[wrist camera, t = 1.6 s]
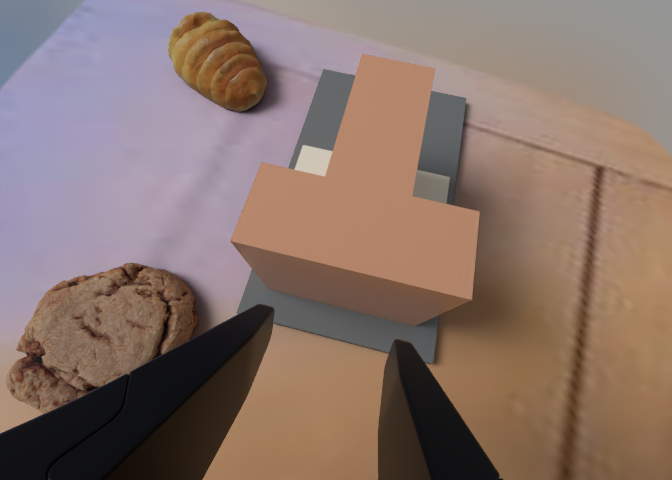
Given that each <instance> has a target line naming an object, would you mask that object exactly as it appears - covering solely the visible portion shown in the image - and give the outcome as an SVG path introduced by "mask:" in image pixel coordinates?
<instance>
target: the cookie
mask: <svg viewBox="0 0 672 480" xmlns="http://www.w3.org/2000/svg"><path fill="white" fill-rule="evenodd" d="M195 302H196V301H195V297H194V295H193V294H192V291H191V289H190V288H189V287H188V286H187V285H186V284H185V283H184V282H183V281H182V280H181V279H180V278H179V277H178V276H177V275H174V274H173V273H171V272H168V271H166V270H161V269H153V268H151V267H148V266H144V265H139V264H136V263H127V264H124V265H123V266H121V267H118V268H114V269H111V270H109V271H107V272H100V273H98V274H95V275H92V276H85V275H84V276H79V277H75V278H73V279H71V280H69V281H62V282H60V283H59V284H57V285H56V286H54V287H53V288H52V289H50V290H49V291H47V293H46V294H45V295H44V297H43V298H42V299H41V301H40V302H39V303H38V306H37V309H36V311H35V313H34V315H33V317H32V319H31V320H30V322H29V323H28V325H27V326H26V328H25V334H24V335H23V336H22V338H21V339H20V342H19V344H18V347H17V349H16V350H17V351H21V352H24V353H25V354H27V357H25V358H22V359H20V360H17V361H16V363H15V364H14V365H13V366H12V368H11V369H10V371H9V373H8V375H7V379H6V383H7V388H8V389H9V391H10V392H11V394H12V395H13V396H14V398H16V399H18V400H19V401H22V402H25V403H27V404H29V405H30V406H32V407H34V408H36V409H38V410H39V411H40V412H42V413H44V414H45V413H47V412H49V411H52V410H54V409H56V408H58V407H60V406H62V405H65V404H67V403H69V402H71V401H73V400H75V399H77V398H79V397H81V396H83V395H85V394H87V393H89V392H91V391H93V390H95V389H97V388H99V387H101V386H103V385H105V384H107V383H109V382H111V381H113V380H115V379H117V378H118V377H120V376H122V375H124V374H129V373H130V371H132V370H134V369H136V368H138V367H140V366H141V365H143V364H145V363H147V362H149V361H151V360H153V359H155V358H157V357H159V356H160V355H162V354H164V353H166V352H168V351H170V350H172V349H174V348H176V347H177V346H179V345H181V344H183V343H185V342H187V341H189V340H191V339H192V336H193V332H194V328H195V327H196V326H197V324H198V322H199V318H198V314H196V311H195V307H193V306H194V304H195Z"/></svg>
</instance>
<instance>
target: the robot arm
mask: <svg viewBox="0 0 672 480" xmlns="http://www.w3.org/2000/svg"><path fill="white" fill-rule="evenodd" d="M274 312H275V310H274V308H273V307H272V306H268V305H264V304H257V305H255V306H253V307H251V308H249V309H247V310H246V311H244V312H242V313H240V314H238V315H236V316H234V317H232V318H230V319H229V320H227V321H225V322H223V323H221V324H219V325H217V326H215V327H213V328H212V329H210V330H208V331H206V332H204V333H202V334H200V335H198V336H196V337H194V338H193V339H191V340H189V341H187V342H185V343H183V344H181V345H179V346H177V347H176V348H174V349H172V350H170V351H168V352H166V353H164V354H162V355H160V356H159V357H157V358H155V359H153V360H151V361H149V362H147V363H145V364H143V365H141V366H140V367H138V368H136V369H134V370H132V371H130V373H129V374H124V375H122V376H120V377H118V378H117V379H115V380H113V381H111V382H109V383H107V384H105V385H103V386H101V387H99V388H97V389H95V390H93V391H91V392H89V393H87V394H85V395H83V396H81V397H79V398H77V399H75V400H73V401H71V402H69V403H67V404H65V405H62V406H60V407H58V408H56V409H54V410H52V411H49V412H47V413H45V414H43V415H41V416H39V417H37V418H34V419H32V420H30V421H28V422H25V423H23V424H21V425H19V426H16V427H14V428H12V429H10V430H7V431H5V432H3V433H0V480H202V479H203V478H204V476H205V474H206V472H207V470H208V468H209V466H210V465H211V463H212V461H213V459H214V457H215V455H216V453H217V452H218V450H219V448H220V446H221V444H222V442H223V440H224V439H225V437H226V435H227V433H228V431H229V429H230V428H231V426H232V424H233V422H234V420H235V418H236V416H237V415H238V413H239V411H240V409H241V407H242V405H243V403H244V401H245V399H246V397H247V395H248V393H249V391H250V388H251V386H252V383H253V381H254V378H255V376H256V374H257V371H258V369H259V366H260V364H261V361H262V359H263V356H264V354H265V351H266V349H267V346H268V344H269V341H270V338H271V334H272V328H273V320H274ZM499 477H500V475H499V473H498V471H497V470H496V468H495V467H494V465H493V464H492V462H491V461H490V459H489V458H488V456H487V455H486V453H485V452H484V450H483V449H482V447H481V446H480V444H479V443H478V441H477V440H476V438H475V437H474V435H473V434H472V433H471V431H470V430H469V428H468V427H467V425H466V424H465V422H464V421H463V419H462V418H461V416H460V415H459V413H458V412H457V410H456V409H455V407H454V406H453V404H452V403H451V401H450V400H449V398H448V397H447V395H446V394H445V392H444V391H443V389H442V388H441V386H440V385H439V383H438V382H437V380H436V379H435V377H434V376H433V374H432V373H431V371H430V370H429V368H428V367H427V365H426V364H425V362H424V361H423V359H422V358H421V356H420V355H419V353H418V352H417V350H416V349H415V347H414V346H413V344H412V343H411V342H408V341H404V340H400V339H395V340H394V341H393V343H392V346H391V349H390V352H389V355H388V358H387V361H386V365H385V369H384V378H383V387H382V397H381V407H380V416H379V428H378V480H503V479H501V478H500V479H499Z"/></svg>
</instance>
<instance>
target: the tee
mask: <svg viewBox="0 0 672 480" xmlns="http://www.w3.org/2000/svg"><path fill="white" fill-rule="evenodd" d="M434 73H435V68H431V67H426V66H420V65H415V64H410V63H405V62H400V61H395V60H390V59H385V58H380V57H375V56H370V55H365V54H362V56H361V59H360V63H359V66H358V69H357V73H356V76H355V79H354V82H353V86H352V89H351V92H350V96H349V99H348V102H347V106H346V109H345V112H344V115H343V119H342V122H341V125H340V129H339V132H338V135H337V139H336V142H335V145H334V148H333V152H332V155H331V158H330V162H329V165H328V168H327V172H326V175H325V176H320V175H316V174H311V173H307V172H302V171H298V170H294V169H289V168H285V167H280V166H276V165H271V164H267V163H263V162H262V163H261V165H260V168H259V170H258V173H257V175H256V178H255V180H254V183H253V185H252V188H251V190H250V193H249V195H248V198H247V200H246V203H245V205H244V208H243V210H242V213H241V216H240V218H239V221H238V223H237V226H236V228H235V231H234V233H233V236H232V238H231V243H232V244H233V245H234V246H235V248H236V249H237V250H238V251H239V253H240V254H241V255H242V257H243V258H244V259H245V260H246V262H247V263H248V264H249V265H250V267H251V268H252V269H253V271H254V272H255V273H256V274H257V276H258V277H259V278H260V280H261V281H262V282H263V283H264V285H265V286H266V287H267V288H268V289H269V290H273V291H277V292H281V293H285V294H289V295H293V296H297V297H301V298H305V299H309V300H313V301H317V302H321V303H324V304H328V305H332V306H336V307H340V308H344V309H348V310H352V311H356V312H360V313H364V314H368V315H372V316H376V317H380V318H384V319H388V320H392V321H396V322H400V323H404V324H408V325H412V326H416V325H418V324H420V323H422V322H425V321H427V320H429V319H431V318H433V317H436V316H438V315H440V314H442V313H444V312H447V311H449V310H451V309H453V308H455V307H458V306H460V305H462V304H464V303H466V302H469V301H471V300H472V293H473V282H474V271H475V259H476V248H477V237H478V226H479V215H480V211H476V210H471V209H467V208H462V207H458V206H453V205H449V204H444V203H440V202H436V201H431V200H427V199H422V198H418V197H413V196H412V195H413V189H414V184H415V178H416V172H417V167H418V161H419V156H420V150H421V145H422V139H423V134H424V128H425V123H426V117H427V112H428V106H429V100H430V95H431V89H432V84H433V78H434Z"/></svg>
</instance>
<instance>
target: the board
mask: <svg viewBox="0 0 672 480" xmlns="http://www.w3.org/2000/svg"><path fill="white" fill-rule="evenodd" d="M354 79H355V76H354V75H349V74H345V73H340V72H335V71H330V70H325V69H324V70H323V72H322V75H321V78H320V81H319V84H318V86H317V89H316V92H315V95H314V98H313V100H312V103H311V106H310V109H309V112H308V114H307V117H306V120H305V123H304V126H303V128H302V131H301V134H300V137H299V140H298V142H297V145H296V148H295V151H294V154H293V156H292V159H291V162H290V165H289V169H294V170H298V171H302V172H307V173H311V174H316V175H320V176H325V175H326V172H327V168H328V165H329V162H330V158H331V155H332V152H333V148H334V145H335V142H336V139H337V135H338V132H339V129H340V125H341V122H342V119H343V115H344V112H345V109H346V106H347V102H348V99H349V96H350V92H351V89H352V86H353V82H354ZM465 105H466V98H463V97H458V96H453V95H448V94H443V93H438V92H433V91H431V95H430V100H429V106H428V112H427V117H426V123H425V128H424V134H423V139H422V145H421V150H420V156H419V161H418V167H417V172H416V178H415V184H414V189H413V195H412V196H413V197H418V198H422V199H427V200H431V201H436V202H440V203H444V204H449V205H453V201H454V193H455V185H456V177H457V169H458V161H459V153H460V145H461V137H462V129H463V121H464V113H465ZM257 304H264V305H268V306H272V307H273V308H274V310H275V312H274V320H273V323H274V324H278V325H282V326H286V327H290V328H294V329H298V330H301V331H305V332H309V333H313V334H317V335H321V336H325V337H328V338H332V339H336V340H340V341H344V342H348V343H351V344H355V345H359V346H363V347H367V348H371V349H375V350H378V351H382V352H386V353H389V352H390V349H391V346H392V343H393V341H394V340H395V339H400V340H404V341H408V342H411V343H412V344H413V346H414V347H415V349H416V350H417V352H418V353H419V355H420V356H421V358H422V359H423V361H424V362H425V363H429V364H433V360H434V352H435V344H436V336H437V328H438V320H439V315H438V316H436V317H433V318H431V319H429V320H427V321H425V322H422V323H420V324H418V325H416V326H412V325H408V324H404V323H400V322H396V321H392V320H388V319H384V318H380V317H376V316H372V315H368V314H364V313H360V312H356V311H352V310H348V309H344V308H340V307H336V306H332V305H328V304H324V303H321V302H317V301H313V300H309V299H305V298H301V297H297V296H293V295H289V294H285V293H281V292H277V291H273V290H269V289H268V288H267V287H266V286H265V285H264V283H263V282H262V281H261V280H260V278H259V277H258V276H257V274H256V273H255V272H254V271H253V269H252V271H251V274H250V277H249V280H248V283H247V285H246V288H245V291H244V294H243V297H242V299H241V302H240V305H239V308H238V311H237V313H238V314H240V313H242V312H244V311H246V310H247V309H249V308H251V307H253V306H255V305H257Z"/></svg>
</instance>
